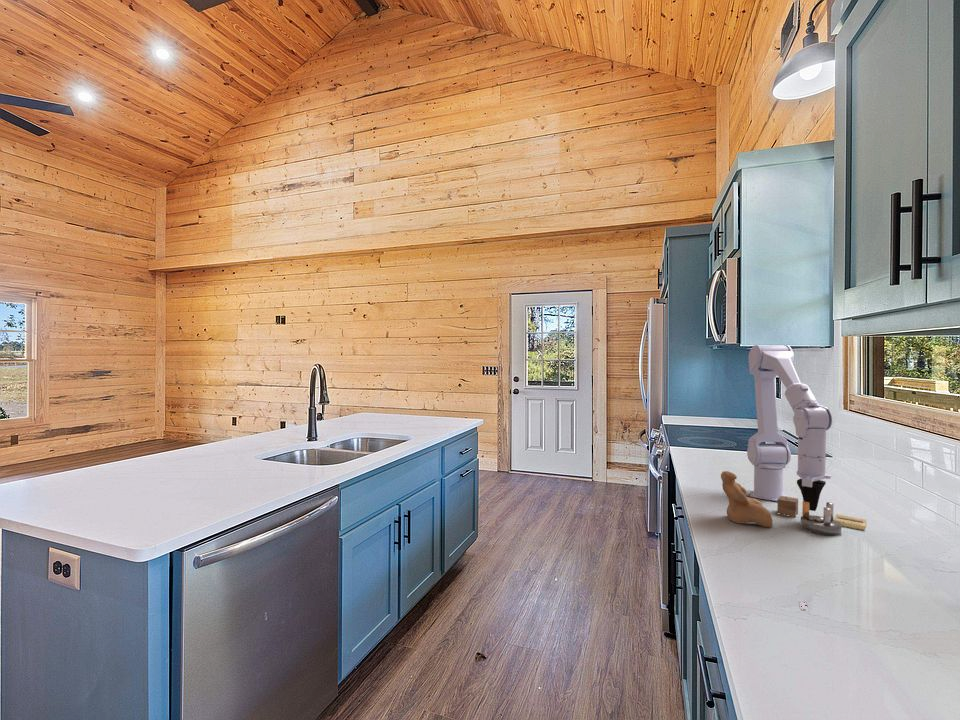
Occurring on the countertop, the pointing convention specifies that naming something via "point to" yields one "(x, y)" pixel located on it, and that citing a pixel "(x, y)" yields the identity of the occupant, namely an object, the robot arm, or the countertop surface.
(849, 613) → the countertop surface
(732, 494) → the figurine
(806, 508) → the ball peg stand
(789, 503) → the block
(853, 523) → the pad
